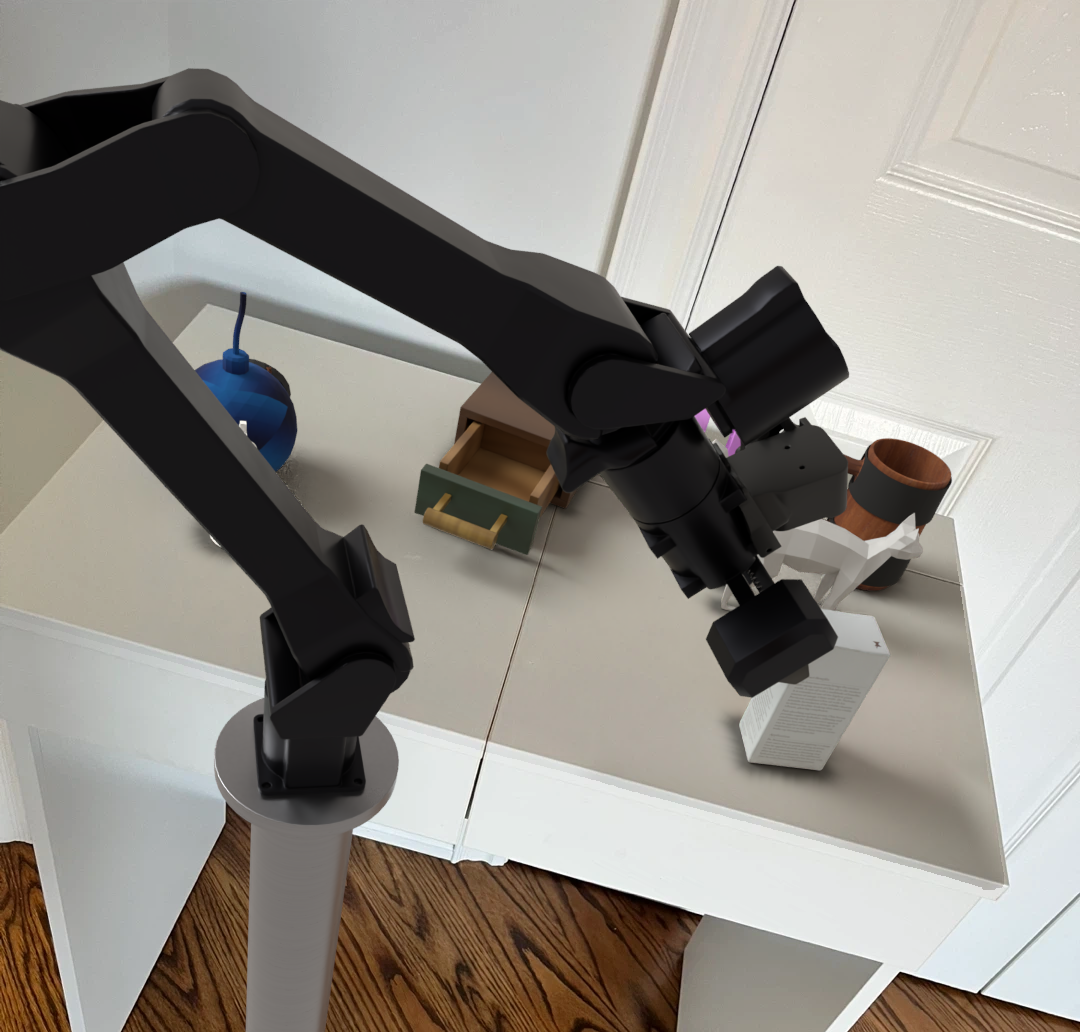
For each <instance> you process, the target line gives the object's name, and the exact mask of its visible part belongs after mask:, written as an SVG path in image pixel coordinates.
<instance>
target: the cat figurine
mask: <svg viewBox="0 0 1080 1032" xmlns="http://www.w3.org/2000/svg"><path fill="white" fill-rule="evenodd" d="M711 442H712V444H714V443H717V444H718V446H719V448H720V449H721V451H722V452H723V454H724V455H725V457H726V458H727V457H729V456H728V449H727V448H726V447H725V446H726V445H724V444H723V443H722V442H721V440H719V439H718V438H715V439H714V440H713V441H711ZM823 519H824V518H823ZM823 519H820V520H817V521H814V522H811V523H808V524H805V525H802V526H800V527H797V528H794V529H791V530H788V531H773V533H774V534H775V536H776V538H777V539H778V541H779V543H780V544H781V547H780V548H779V549H777V550H775V551H774V552H772V553H771V554H769V555H768V556H766V557H764V558H761V557H760V556H759V554H758V555H757V556H758V558H759V559H760V561H761V562H762V564H763V566H764V567H765V569H766V570H767V572H768V574H769V575H770V577H771V578H772V579H775V578H776V577H778V576H779V574H780V571H781V569H782V565H785V566H786V567H789V568H790V569H792V570H795V571H796V572H798V573H807V574H808V573H809V574H822V575H821V577H820V580H819V582H818V585H817V588H816V590H815V592H814V595H813V598H814V599H815V601H816V602H817V604H818V605H819V607H820V608H821V609H826V610H833V611H835V609H836V608H837V607H838V606H839V604H840V603H841V602H842V601H843V600H844V599H845V598H847V597H848V596H849V595H850V594H851V593H852V592H853V591H855V589H857V588H856V587H857V586H858V585H860V584H861V583H862V582H863V581H864V580H865V579H866V578H867V577H869V576H870V575H871V574H872V573H873V572H874V571H875V570H877V569H878V568H879V567H880V566H881V565H882V564H883V563H884V562H885V561H886V560H888V559H889V558H890V557H891V556H893V557H895V558H898V559H905V560H908V559H911V560H912V559H916V558H920V557H921V556H922V554H923V552H924V548H923V546H922V545H921V543H920V537H919V533H918V531H919V528H918V529H916V528H915V513H913V514H912V515H910V516H909V517H908V518H907V519H905V520H904V521H903V522H902V523H901V524H900V525H899V526H898V528H897V529H896V530H894V531H893V532H892V533H890V534H889V535H888V536H886V537H881V538H876V539H871V540H867V541H863V540H862V539H860V538H858V537H857V536H855V535H854V534H852V533H851V532H849V531H848V530H846V529H844V528H842V527H840V526H837V525H835V524H833V523H830V522H828V521H826V520H827V519H825V520H823ZM750 587H751V588H753V587H754V588H756V587H755V585H754V584H753V582H752V584H751V585H750ZM828 591H829V593H828ZM827 593H828V594H827ZM826 594H827V595H826ZM825 595H826V596H825ZM732 596H733V593H732V592H731V590H730V588H729V586H728V585H725V587H724V591H723V594H722V597H721V599H720V601H721V602H720V605H721V607H720V608H721V610H726V611H728V612H730V611H732V610H733V609H735V608H736V607H737V606H732V605H729V604H728V602H729V601H730V599H731V597H732ZM824 597H825V598H824ZM823 598H824V599H823ZM822 599H823V601H822ZM821 601H822V604H820V602H821Z"/></svg>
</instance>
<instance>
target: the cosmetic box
mask: <svg viewBox="0 0 1080 1032" xmlns="http://www.w3.org/2000/svg"><path fill="white" fill-rule="evenodd" d="M821 610H822V611H823V613H824V614H825V616H826V617H827V619H828V621H829V622H830V624H831V626H832V627H833V629H834V631H835V632H836V634H837V636H838V639H837V641H836V644H835V647H834V649H833V650H832V651H830V652H828V653H827V654H825V655H823V656H822V657H820V658H818V659H817V660H815V661H813V662H811V663H810V664H808V665H809V674H810V675H809V677H808V678H806V679H805V680H803V681H801V682H800V683H798V684H796V685H793V684H786V683H780V682H778V683H776V684H775V685H773V686H771V687H770V688H768V689H766V690H765V691H763V692H761V693H760V694H758V695H756V696H755V697H753V698H750V700H749V703H748V704H747V706H746V708H745V710H744V713H743V714H742V717H741V718H740V721H739V724H738V726H739V731H740V734H741V738H742V743H743V746H744V750H745V755H746V759H747V762H748V763H750V764H751V763H752V764H760V765H761V764H762V765H770V766H778V767H787V768H797V769H804V770H812V771H822V770H823V769H824V767H825V765H826V764H827V762H828V761H829V759H830V757H831V755H832V754H833V752H834V751H835V748H836V747H837V746H838V743H839V742H840V741H841V739H842V737H843V735H844V734H845V732H846V731H847V729H848V727H849V726H850V724H851V722H852V720H853V719H854V717H855V716H856V714H857V712H858V711H859V709H860V707H861V706H862V704H863V702H864V700H865V699H866V698H867V695H868V694H869V692H870V691H871V689H872V688H873V685H874V684H875V682H876V681H877V679H878V677H879V676H880V675H881V672H882V671H883V669H884V667H886V664H887V663H888V661H889V659H890V658H891V656H892V655H891V652H890V650H889V648H888V645H887V643H886V641H885V638H884V636H883V633H882V631H881V629H880V626H879V624H878V622H877V619H876V618H875V616H874V615H869V614H861V613H860V614H859V613H853V612H845V611H839V610H834V611H833V610H826V609H821Z"/></svg>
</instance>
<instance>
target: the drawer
mask: <svg viewBox="0 0 1080 1032" xmlns="http://www.w3.org/2000/svg"><path fill="white" fill-rule="evenodd" d="M547 449H548V447H545V446H543V445H540V444H537V443H535V442H532V441H529V440H526V439H524V438H521V437H518V436H516V435H513V434H510V433H508V432H505V431H502V430H499V429H497V428H494V427H491V426H489V425H486V424H483V423H480V422H478V421H475V420H474V421H473V423H472V424H471V425H470V426H469V427H468V429H467V430H466V431H465V432H464V433H463V435H462V436H461V437H460V438H459V439H458V440H457V442H456V443H455V444H454V443H453V445H452V446H451V447H450V449H449V450H448V451H447V452H446V453H445V455H443V457H441V459H440V460H439V465H438V467H437V466H434V465H432V464H429V463H425V464H424V465H423V466H422V468H421V469H420V472H419V481H418V487H417V492H416V494H417V495H416V500H415V506H414V507H415V508H414V514H417V515H419V516H422V524H423V525H425V526H428V527H431V528H433V529H435V530H439V531H441V532H443V533H447V534H449V535H452V536H454V537H457V538H460V539H462V540H465V541H466V542H467V541H468V542H470V543H472V544H475V545H478V546H481V547H483V548H485V549H489V550H493V549H495V546H496V545H499V546H501V547H504V548H507V549H510V550H512V551H515V552H517V553H519V554H522V555H525V556H528V555H529V554H530V552H531V550H532V549H533V546H534V545H533V544H534V540H535V537H536V534H537V529H538V527H539V521H540V520H541V518H542V516H543V514H544V513H545V511H546V510H547V508H548V506H549V505H550V504H551V503H550V502H551V500H552V498H553V497H554V495H555V494H556V492H557V490H558V489H559V487H560V486H561V485H560V483H559V481H558V479H557V477H556V474H555V472H554V470H553V468H552V466H551V463H550V461H549V459H548V457H547V454H546V452H547Z"/></svg>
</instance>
